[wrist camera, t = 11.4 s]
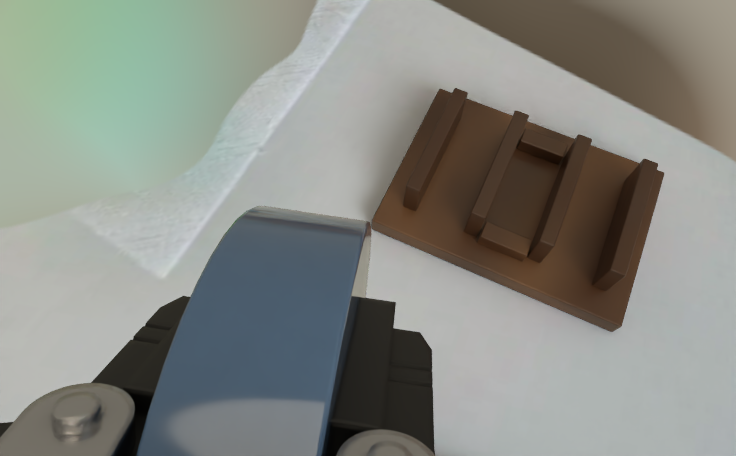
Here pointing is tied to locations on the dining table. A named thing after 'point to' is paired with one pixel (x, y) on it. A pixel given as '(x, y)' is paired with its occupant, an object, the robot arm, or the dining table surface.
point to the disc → (262, 340)
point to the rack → (524, 207)
